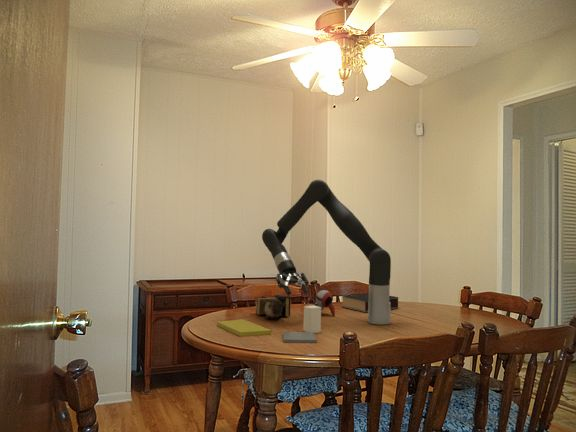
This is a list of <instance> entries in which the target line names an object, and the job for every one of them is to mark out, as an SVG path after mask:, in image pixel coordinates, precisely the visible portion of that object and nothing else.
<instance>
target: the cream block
mask: <svg viewBox="0 0 576 432" xmlns="http://www.w3.org/2000/svg"><path fill="white" fill-rule="evenodd" d="M321 328H322V311H321V307H318V306H314V305H312V304H311V305H304V306H303V327H302V330H303V331H302V332H314V334H316V333H317V334H319V333H321V331H322V330H321Z"/></svg>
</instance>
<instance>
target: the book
mask: <svg viewBox="0 0 576 432" xmlns="http://www.w3.org/2000/svg"><path fill="white" fill-rule="evenodd" d="M341 298H342V299H341V301H342V303H341V304H342V305H341V307H342V308H345V309H349V310H355V311H359V312H363V313H368V303H369V293H361V294H351V295H350V294H346V295H342V297H341ZM389 302H390V303H391V310H394V309H399V297H398V296H394V295H389Z"/></svg>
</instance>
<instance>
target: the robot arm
mask: <svg viewBox="0 0 576 432" xmlns="http://www.w3.org/2000/svg"><path fill="white" fill-rule="evenodd" d="M301 195H302V196H300V198H299V199H298V200H297V201H296V202H295V203H294V204H293V205H292V207H290V208H289V209H288V211H286V212H285V214H283V216H282V217H280V219H279V220H278V221H277V223H276V225H277V227H278V229H277V231H276V230H274V229H273V228H267V229H264V231H263V232H262V234H261V238H262V241H263V244H264V246H265V247H266V248H267V250H268V251H269V252H270V254H271V256H272V259H273V261H274V264H275V267H276V269H277V271H278V273H277V274H276V276H275V280H276V284H277V285H278V288H280V289H281V288H282V289H283V290H284V291H285V294H286V296H289V297H290V296H291V295H292V291H291V288H290V286H289V285H292V284H293V285H296V286H298V287H300V288H301V289H302V292H303V294H304V295H307V294H308V292H309V289H308V287H307V286H308V285H309V283H310V282H309V280H308V278H307V276H306V275H305V273H304V272H301V273H298V272H297V268H296V266H295V263H294V262H293V260H292V258H291V256H290V254H289V253H288V250H287V249H286V247H285V245H284V244H283V242H284V241H285V240H286V238H287V236H288V233H289V232H290V231H291V230H292V229H293V228H294V227H295V226H296V225H297V223H299V221H300V220H301V219H302V218H303V216H304V215H305V214H306V213H307V212H308V210H309V209H311V207H312V206H314V205H315V204H316V203H317V202H318V203H319V204H320V205H321V206H322V207H323V208H324V209H325V210H326V212H327V213H328V214H329V216H330V218H331V219H332V221H333V222H334V223H335V225H336V227H338V229H339V231H341V233H342V234H344V236H346V238H348V239H349V240H350V242H352V243H353V244H354V245H355V246H356V247H358V248H359V250H360V251H361V252H362V253H363V255H364V256H365V257H366V259H367V261H368V262H369V277H368V294H369V303H368V312H367V314H368V315H367V323H369V324H372V325H380V326H381V325H390V324H391V312H392V311H391V310H392V309H391V303H390V302H389V296H390V284H391V283H390V281H391V274H392V273H391V270H392V269H391V268H392V263H391V262H392V259H391V255H390V253H389V251H387V250H386V249H383V248H382V247H381V246H380V245H379V244H378V243H377V242H376V241H375V240H373V238H372V237H371V235H370V234H369V233H368V231H367V230H366V227H365V226H364V224H363V223H362V222H361V221H360V220H359V219H358V218H357V217H356V215H355V214H354V213H353V212H352V211H351V210H350V209H349V208H348V207H347V206H346V205H345V204H344V203H342V201H340V200H339V199H338V198H337V196H336V195H335V194H334V192H333V191H332V190H331V188H330V187H329V185H328V184H327V182H325V181H324V180H323V179H315V180H312V181H311V182H310V183H309V185H308V186H307V188H306V189H305V191H304V192H303V194H301Z"/></svg>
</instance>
